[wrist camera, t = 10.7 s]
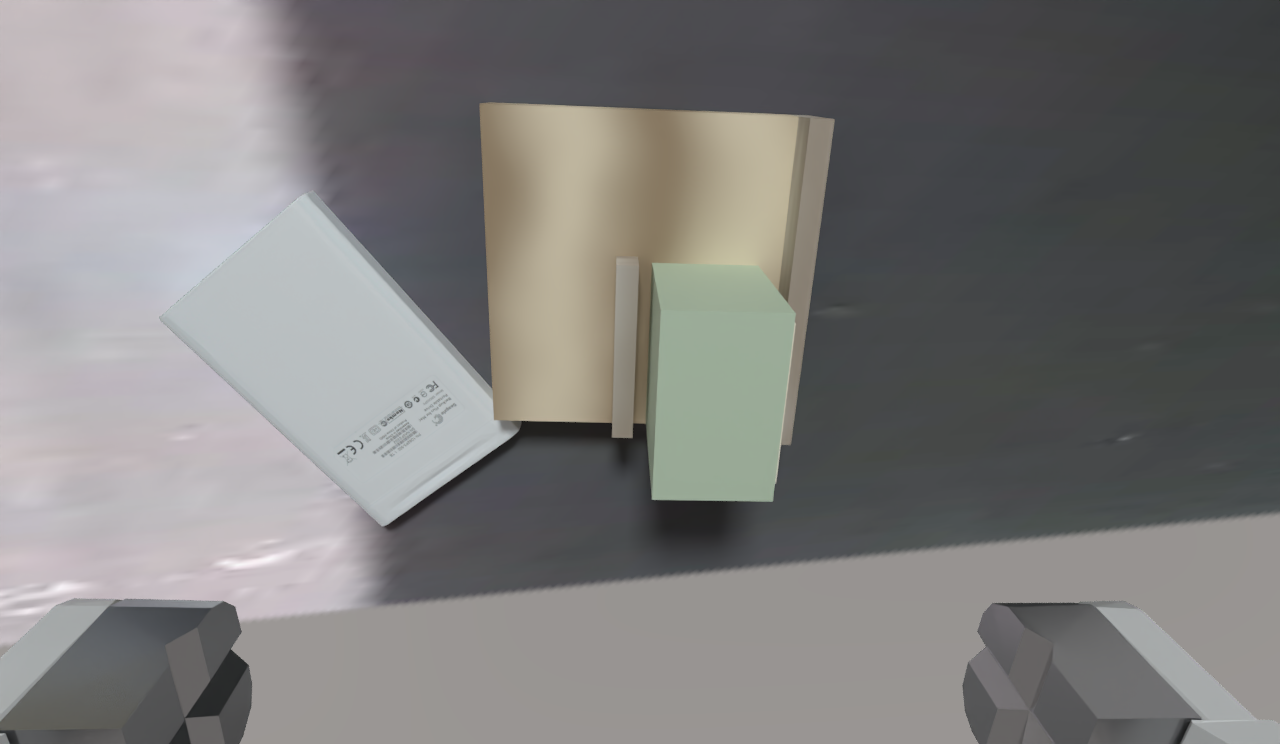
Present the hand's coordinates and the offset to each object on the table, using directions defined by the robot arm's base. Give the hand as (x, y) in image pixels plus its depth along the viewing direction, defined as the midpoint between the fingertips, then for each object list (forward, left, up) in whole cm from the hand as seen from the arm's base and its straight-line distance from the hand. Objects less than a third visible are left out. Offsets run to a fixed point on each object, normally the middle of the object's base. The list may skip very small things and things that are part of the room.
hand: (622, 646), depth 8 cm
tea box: (+3, -4, -20) cm, 20 cm away
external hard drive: (-11, -6, -22) cm, 26 cm away
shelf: (+1, -1, -22) cm, 22 cm away
